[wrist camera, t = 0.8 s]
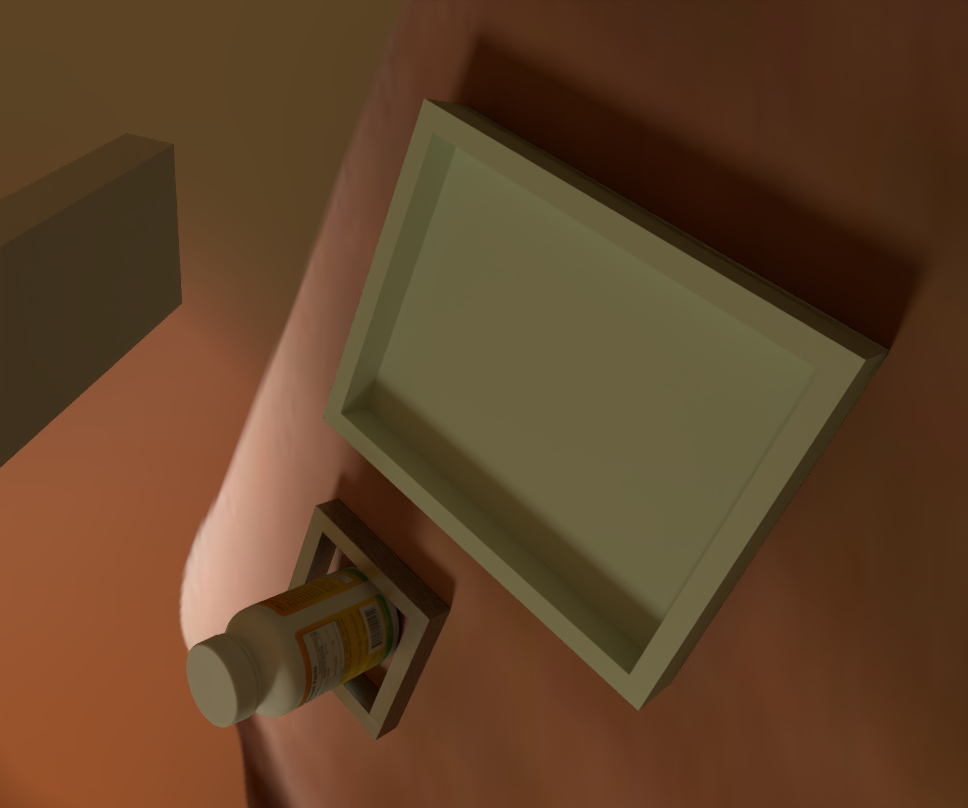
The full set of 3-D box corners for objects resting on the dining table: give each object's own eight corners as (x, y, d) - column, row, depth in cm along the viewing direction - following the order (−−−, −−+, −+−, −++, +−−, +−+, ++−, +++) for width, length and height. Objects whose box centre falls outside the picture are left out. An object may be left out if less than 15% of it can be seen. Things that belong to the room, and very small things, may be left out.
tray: (464, 104, 37) (424, 98, 35) (890, 350, 28) (866, 360, 26) (360, 410, 45) (322, 418, 43) (669, 684, 35) (638, 710, 34)
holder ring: (337, 498, 47) (315, 505, 46) (450, 609, 43) (429, 619, 42) (296, 616, 51) (275, 625, 50) (395, 727, 47) (375, 740, 46)
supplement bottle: (321, 605, 50) (165, 672, 42) (356, 544, 47) (195, 605, 39) (377, 680, 47) (223, 765, 40) (417, 621, 45) (259, 701, 37)
